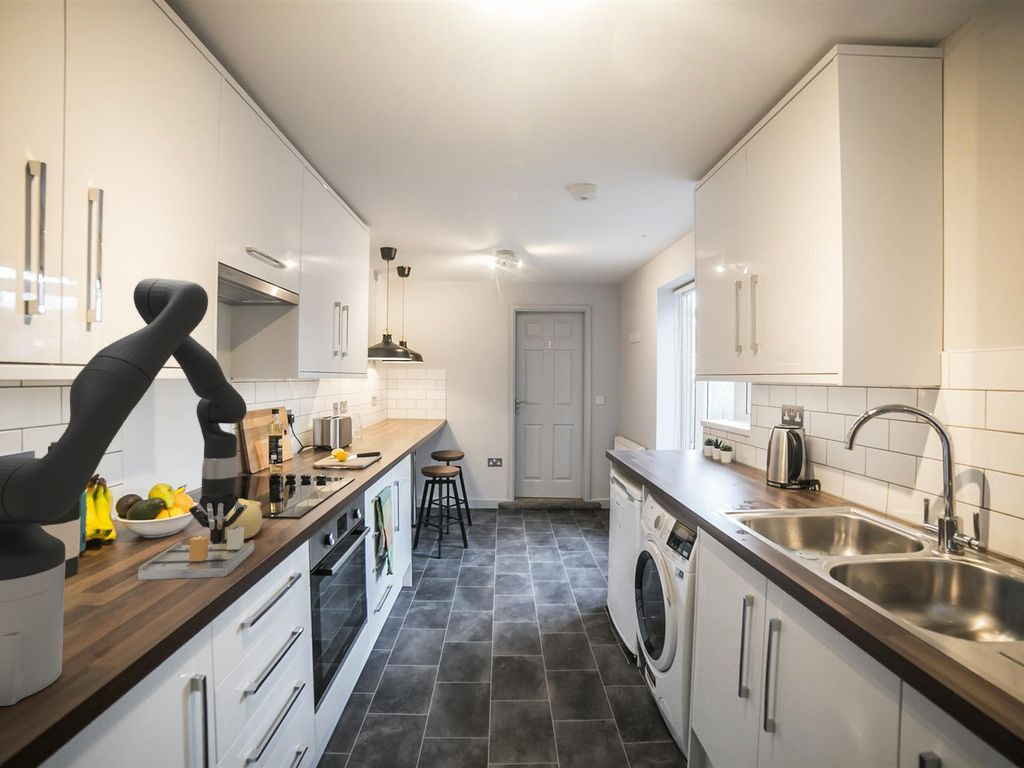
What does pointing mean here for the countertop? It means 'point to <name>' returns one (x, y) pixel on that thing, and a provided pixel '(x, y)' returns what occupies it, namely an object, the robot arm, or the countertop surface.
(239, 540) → the fader
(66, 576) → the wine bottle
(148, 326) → the robot arm
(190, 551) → the block
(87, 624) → the countertop surface
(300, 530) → the countertop surface
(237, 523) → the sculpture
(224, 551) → the grey slider board
